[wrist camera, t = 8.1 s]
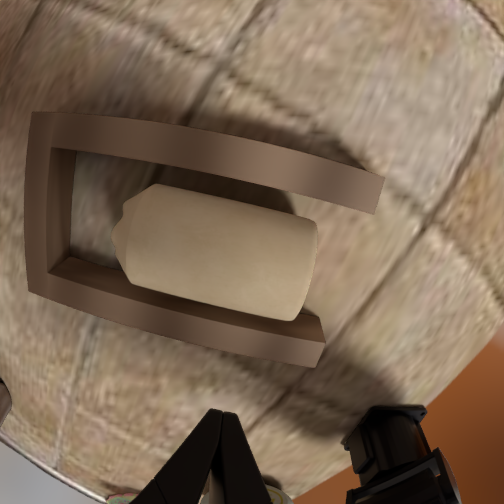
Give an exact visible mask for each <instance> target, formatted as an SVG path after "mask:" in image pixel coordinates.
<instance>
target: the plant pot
mask: <svg viewBox="0 0 504 504" xmlns="http://www.w3.org/2000/svg"><path fill="white" fill-rule="evenodd" d="M11 407H12V401H11V397H10V395H9V392H8V390H7V388H6V386H5V385H4V384H3V383H0V427H1V425H2V424H3V422H4V420H5V418H6V416H7V415H8V413H9V411H10V410H11Z"/></svg>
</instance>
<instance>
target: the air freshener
mask: <svg viewBox="0 0 504 504" xmlns="http://www.w3.org/2000/svg"><path fill="white" fill-rule="evenodd" d="M266 488H267V490H268V492H269V494H270V497H271V499H272V500H271V501H272V502H273V503H274V504H294V503H293V502H292V500H291V498H290V497H289V496H288V495H287V494H285V493H284V492H282V491H281V490H279V489H277V488H274V487H272V486H269V485H266ZM200 504H209V492H208V493H206V494H205V496H204V497H203V498H202V500H201V503H200Z"/></svg>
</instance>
